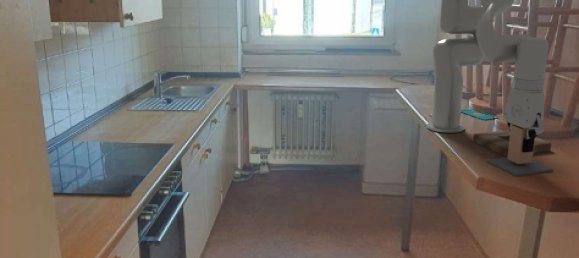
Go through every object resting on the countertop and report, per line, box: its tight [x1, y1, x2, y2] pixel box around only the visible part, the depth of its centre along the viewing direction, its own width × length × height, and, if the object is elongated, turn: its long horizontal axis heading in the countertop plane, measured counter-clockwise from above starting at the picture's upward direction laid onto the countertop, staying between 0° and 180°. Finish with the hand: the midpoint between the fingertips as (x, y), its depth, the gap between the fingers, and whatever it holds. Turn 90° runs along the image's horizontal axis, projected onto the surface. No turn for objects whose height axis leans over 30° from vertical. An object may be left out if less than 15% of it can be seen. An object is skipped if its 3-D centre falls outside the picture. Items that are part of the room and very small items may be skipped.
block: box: [507, 125, 535, 164], centre depth 139 cm, size 4×4×10 cm
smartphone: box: [461, 108, 494, 121], centre depth 195 cm, size 7×1×15 cm
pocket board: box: [472, 129, 552, 157], centre depth 158 cm, size 16×16×2 cm
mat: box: [486, 156, 554, 177], centre depth 141 cm, size 12×12×1 cm
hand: (520, 148), depth 139 cm, fingers closed on block, 4 cm apart
